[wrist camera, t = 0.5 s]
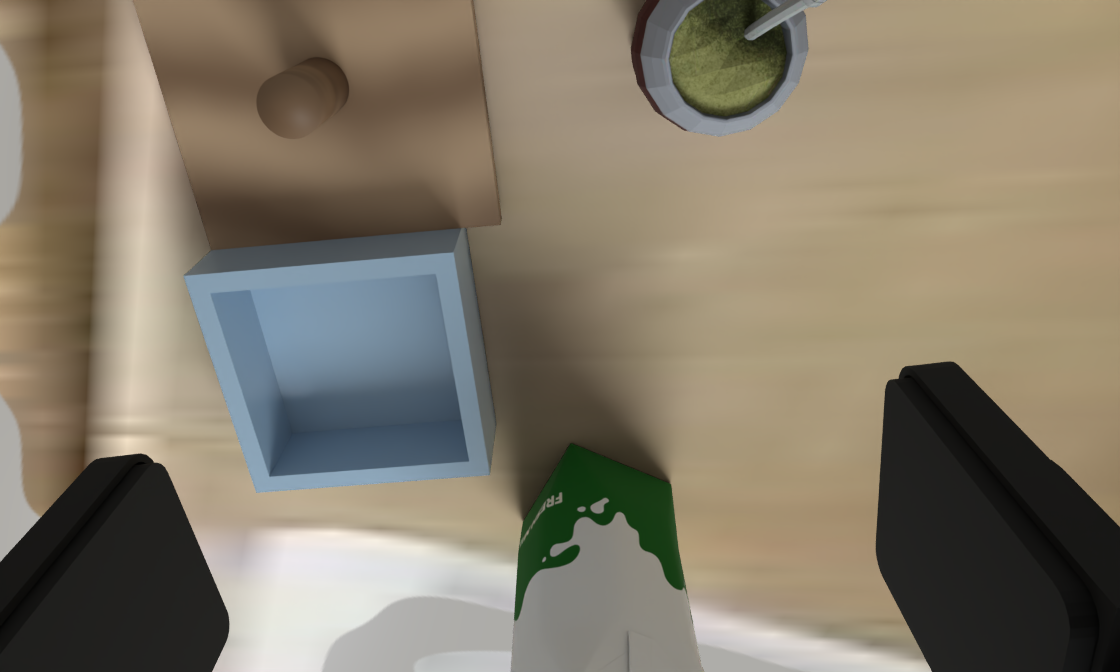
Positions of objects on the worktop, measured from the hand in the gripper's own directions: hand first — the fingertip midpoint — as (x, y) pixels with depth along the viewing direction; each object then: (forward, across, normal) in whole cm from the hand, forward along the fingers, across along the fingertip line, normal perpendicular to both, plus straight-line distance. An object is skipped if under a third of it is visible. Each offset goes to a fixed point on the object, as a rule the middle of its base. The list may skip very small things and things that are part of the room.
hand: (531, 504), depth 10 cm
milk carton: (+32, 0, +25) cm, 41 cm away
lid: (+31, +10, -2) cm, 33 cm away
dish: (+32, +12, +12) cm, 36 cm away
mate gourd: (+32, -8, -2) cm, 33 cm away
